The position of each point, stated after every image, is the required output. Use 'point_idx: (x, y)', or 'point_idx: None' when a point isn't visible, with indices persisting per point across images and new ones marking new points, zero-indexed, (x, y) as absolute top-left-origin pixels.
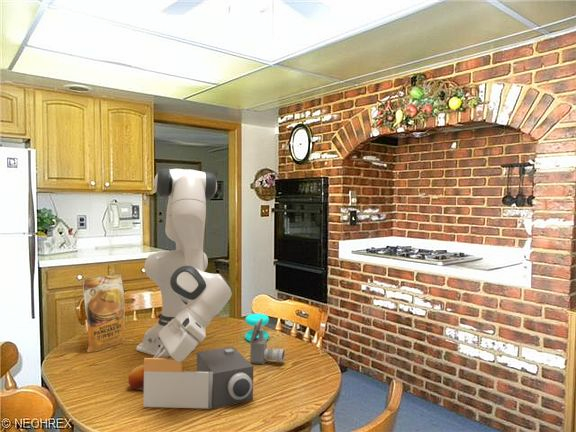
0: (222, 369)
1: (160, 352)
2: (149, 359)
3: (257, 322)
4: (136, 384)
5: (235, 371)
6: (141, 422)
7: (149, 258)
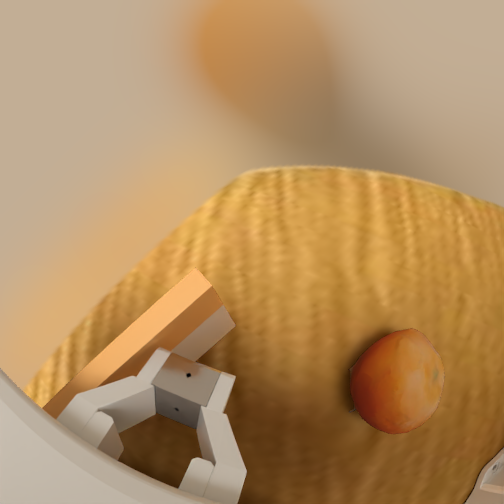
0: None
1: (204, 435)
2: (161, 299)
3: None
4: (368, 348)
5: None
6: (159, 274)
7: None
